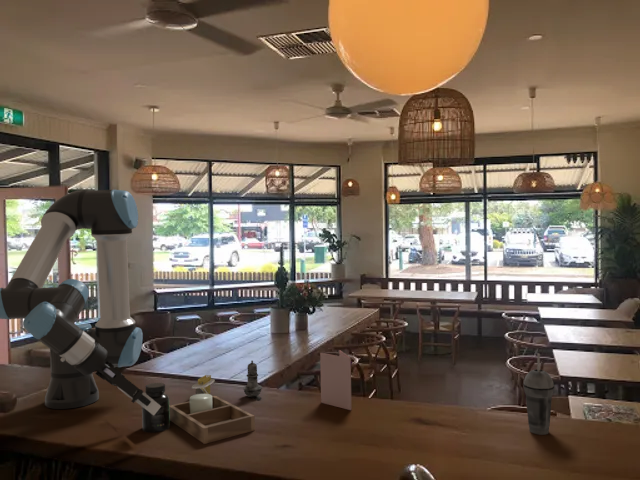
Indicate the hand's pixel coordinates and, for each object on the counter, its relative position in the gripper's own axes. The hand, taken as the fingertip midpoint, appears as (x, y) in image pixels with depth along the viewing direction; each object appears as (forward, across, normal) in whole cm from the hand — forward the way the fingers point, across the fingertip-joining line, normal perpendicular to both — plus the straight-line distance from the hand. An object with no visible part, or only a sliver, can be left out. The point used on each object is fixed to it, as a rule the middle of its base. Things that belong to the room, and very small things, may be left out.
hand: (147, 404), depth 140 cm
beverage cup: (+61, +61, +50) cm, 100 cm away
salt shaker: (+30, -8, +20) cm, 37 cm away
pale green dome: (+15, 0, +5) cm, 16 cm away
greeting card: (+42, +12, +31) cm, 54 cm away
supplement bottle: (+7, -1, -4) cm, 8 cm away
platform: (+23, -20, +12) cm, 33 cm away
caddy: (+16, +6, +5) cm, 18 cm away
